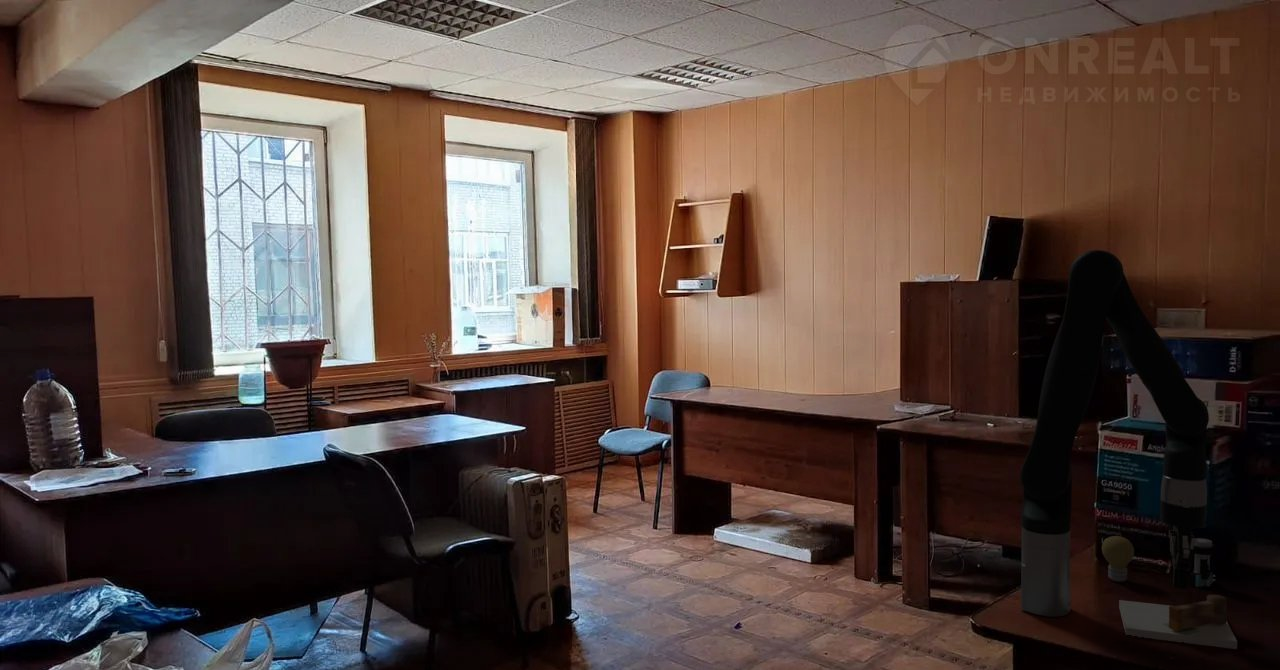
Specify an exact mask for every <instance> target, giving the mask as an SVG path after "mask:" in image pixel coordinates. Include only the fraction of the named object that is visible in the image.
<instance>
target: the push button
mask: <svg viewBox="0 0 1280 670" xmlns="http://www.w3.org/2000/svg"><path fill="white" fill-rule="evenodd" d="M1217 548H1218V546H1217V545H1215V544H1214V543H1213V541H1212V540H1210V539H1207V538H1204V537H1203V538H1201V537H1197V538H1196V537H1195V546H1194V547H1193V549H1194V551H1195V554H1194V567H1193V571H1192V572H1188V584H1189V585H1191V586H1192V585H1193V587H1195V586H1196V588H1198V586H1199V587H1200V588H1202V587H1201V586H1204V587H1207V586H1208V587H1211V585H1210V584H1212V583H1213V584H1214V582H1215V581H1216V579H1214V578H1215V577H1216V575H1215V574H1214V573H1213V572H1211V569H1210V566H1211V565H1210V564H1211V563H1210V562H1211V560H1210V559H1211V556H1213V555H1215V554H1216V551H1217ZM1213 584H1212V585H1213ZM1205 585H1206V586H1205Z"/></svg>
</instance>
